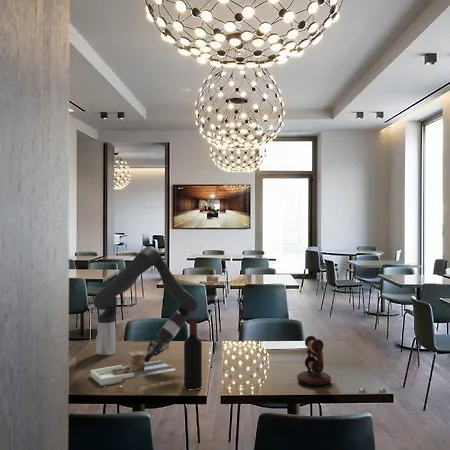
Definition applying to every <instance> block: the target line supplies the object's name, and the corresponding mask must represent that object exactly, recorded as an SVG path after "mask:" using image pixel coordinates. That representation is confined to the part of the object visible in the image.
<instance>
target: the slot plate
mask: <svg viewBox="0 0 450 450" xmlns="http://www.w3.org/2000/svg"><path fill="white" fill-rule="evenodd" d="M123 369H124V370H125V371H127V373H131V371H130V370H129V365H125V366H123ZM176 370H177V369H176V368H174V367H173V365H172V364H169V365H168V364H167V363H165V360H155V361H148V362H144V370H141V371H135V372H132V373H134V377H135V378H140V377H145V376H149V375H156V374H157V375H158V374H161V373H167V372H172V371H176Z"/></svg>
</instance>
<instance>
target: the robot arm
mask: <svg viewBox="0 0 450 450" xmlns="http://www.w3.org/2000/svg"><path fill="white" fill-rule="evenodd" d="M152 267H154V268H155V269H156V270H157V272H158V274H159V277H160V279H161V281H162V284H163V287H164V288H165V290H166V291H167V292H168V293H169V295H170V296H171V297H172V298H173V299H174V300H176V301H178V302H179V306H178V308H177V309H176V310H175V312H174V313H173V314H172V315H171V317H170V318H169V319H168V320H167V321H166V322H165V323H164V325H162V327H161V328H160V329H159V331H158V332H157V333H156V338H155V339H154V340H153V341H151V340H150V341H149V343H148V346H147V349H146V352H147V354H146V355H144V363H148V362H150V360H151V359H152V358H153V357H156V356H158V355H160V354H161V353H163V352H164V351H165V350H166V349H165V348H164V347H165V346H166V345H169V344H170V343H171V342H172V340H173V339H174V338H175V337H176V335H177V334H178V333H179V331H180V329H181V328H182V327H184V325H185V324H186V322H187V321H186V320H187V319H188V317H189V316H190V315H191V314H192V313H195V311H197V310H198V308H199V306H198V305H199V304H198V302H197V300H196V298H195V297H194V296H193V295H192V294H190V293H189V291H187V290H186V289H185V288H184V287H183V286H182V285H181V283H180V282H179V281H178V279H177V278H176V277H175V276H174V274H172V273H173V272H171V270H170V268H169V267H168V266H167V264H166V261H164V259H163V258H162V256H161V254H160V253H159V251H158V250H157V249H156V248H155V247H153V246H147V247H144V248H143V249H141V250H140V251H139V252H138V253H137V254H136V256H135V257H134V258H133V259H132V261H131V263H130V264H129V265H128V266H126V267H124V268H123V269H122V270H121V271H120V272H118V274H117V275H116V276H115V277H114V278H113V279H112V280H111V281H110V283H108V284H107V285H106V286H105V287H103V288H102V289H101V290H100V291H99V292H98V293H96V294H95V296H94V299H93V305H94V308H96V309H97V310H104V311H103V312H101V314H99V315H98V316H97V335H96V336H95V348H96V349H95V354H96V355H99V356H111V355H115V353H116V317H117V309H118V308H117V307H118V299H117V296H120V295H122V294H123V293H125V292H126V291H128V290H130V289H131V288H132V286H134V285H135V283H136V282H137V280H138V278H139V277H140V276H141V275H142V274H144V273H145V272H146V271H148V270H149V269H151V268H152Z"/></svg>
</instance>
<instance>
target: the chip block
mask: <svg viewBox="0 0 450 450" xmlns="http://www.w3.org/2000/svg"><path fill="white" fill-rule="evenodd" d="M144 357H145V353H144V352H143V351H141V350H137V351H129V352H128V366H129V370H130V371H131V373H132V372H135V371H141V370H144V363H145V361H144Z"/></svg>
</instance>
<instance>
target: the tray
mask: <svg viewBox="0 0 450 450" xmlns="http://www.w3.org/2000/svg"><path fill="white" fill-rule="evenodd" d="M123 367H124V366H123V364H118V365H113V366H107V367H102V368H95V369H90V377H91V378H92V379H93V380H94V381H95V382H96V383H98V385H100V386H101V387H104V386H108V385H114V384H118V383H123V382H126V380H124V379H128V378H134V377H135V376H134V373H129V372H127V373H123V374H117V373H115V372H114V371H116V370H117V371H118V370H122V369H124V368H123Z"/></svg>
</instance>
